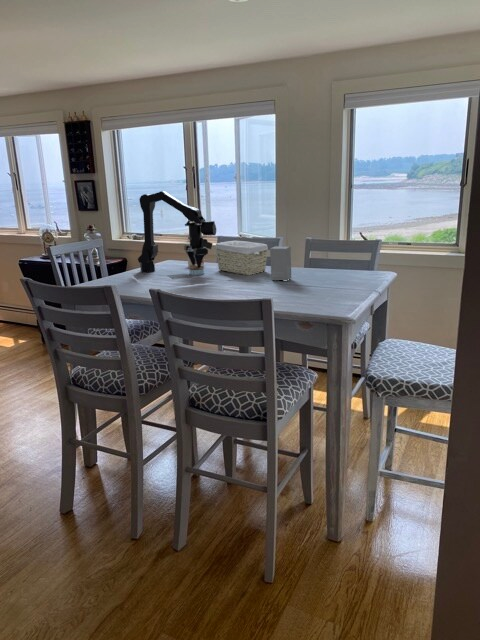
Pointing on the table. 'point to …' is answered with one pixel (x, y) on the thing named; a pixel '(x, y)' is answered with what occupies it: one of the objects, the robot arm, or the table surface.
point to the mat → (179, 276)
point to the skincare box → (280, 263)
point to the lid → (196, 267)
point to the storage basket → (241, 257)
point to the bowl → (196, 272)
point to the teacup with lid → (195, 262)
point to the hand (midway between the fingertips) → (196, 266)
